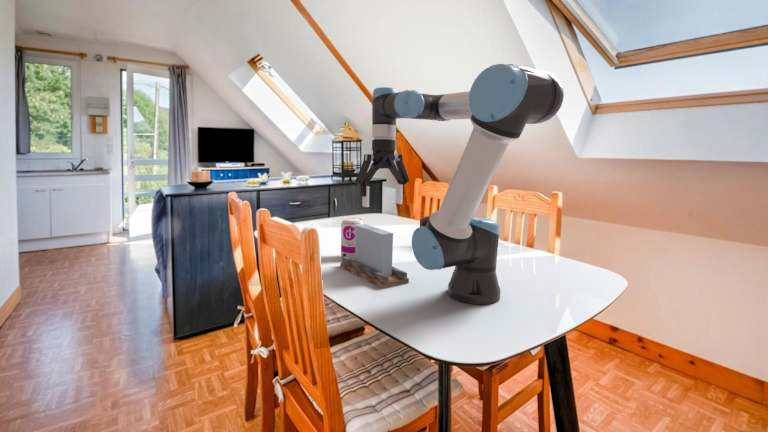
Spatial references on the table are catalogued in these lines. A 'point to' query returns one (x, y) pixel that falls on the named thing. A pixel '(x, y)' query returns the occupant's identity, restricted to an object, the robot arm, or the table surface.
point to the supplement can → (349, 236)
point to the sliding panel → (374, 248)
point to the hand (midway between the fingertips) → (382, 205)
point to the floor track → (375, 274)
